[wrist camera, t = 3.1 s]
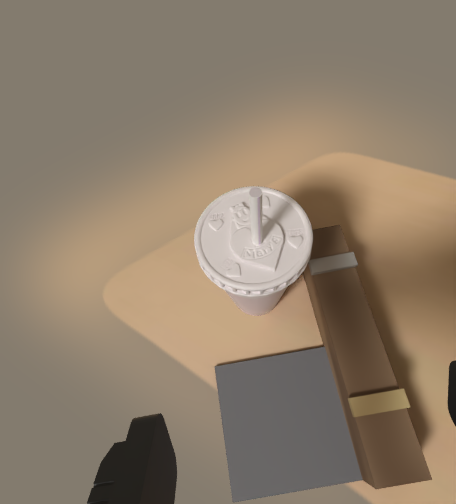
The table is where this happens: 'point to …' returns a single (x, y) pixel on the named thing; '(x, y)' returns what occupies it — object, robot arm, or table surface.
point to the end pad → (284, 425)
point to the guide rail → (361, 367)
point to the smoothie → (253, 245)
